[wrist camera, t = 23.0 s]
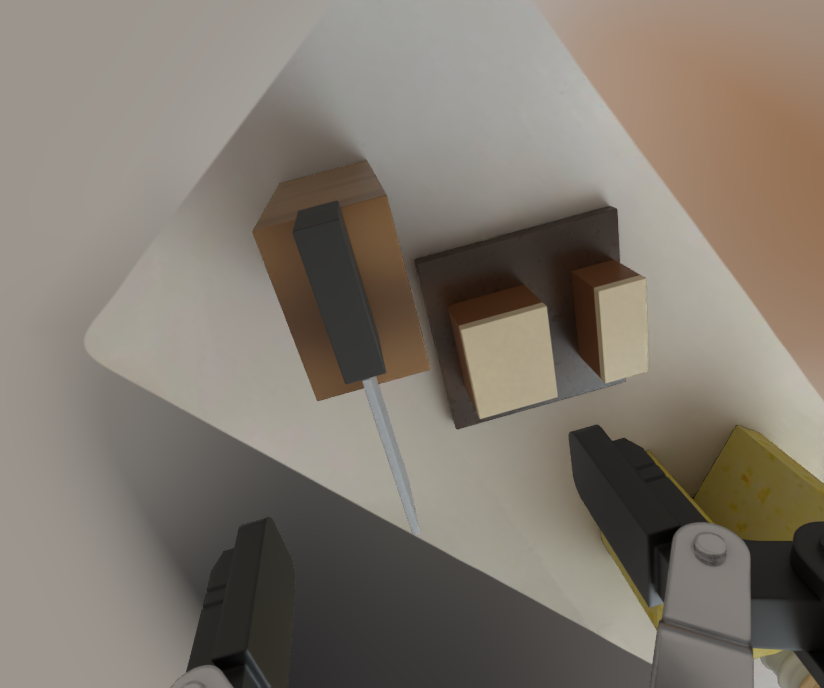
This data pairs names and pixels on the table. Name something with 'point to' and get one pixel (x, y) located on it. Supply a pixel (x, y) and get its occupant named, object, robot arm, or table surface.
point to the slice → (611, 319)
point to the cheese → (750, 498)
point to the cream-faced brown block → (504, 350)
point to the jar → (789, 670)
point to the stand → (376, 264)
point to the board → (510, 267)
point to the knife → (349, 321)
